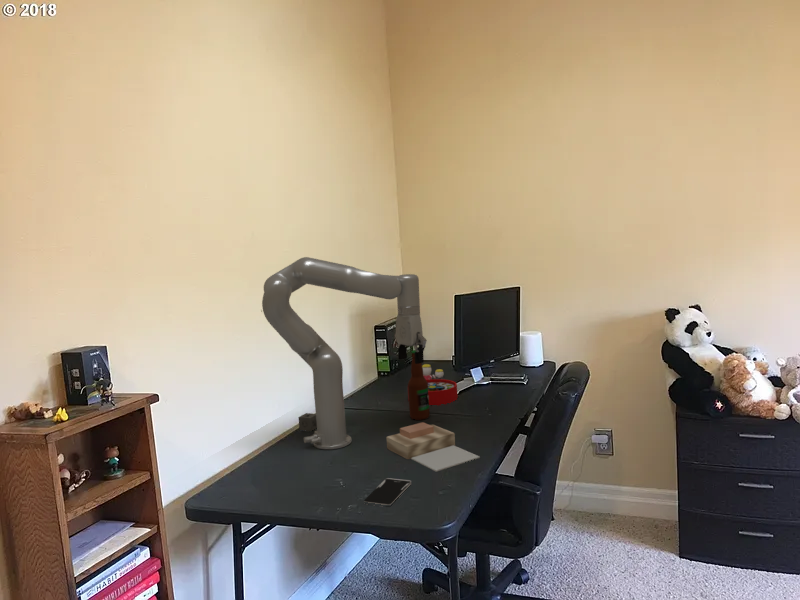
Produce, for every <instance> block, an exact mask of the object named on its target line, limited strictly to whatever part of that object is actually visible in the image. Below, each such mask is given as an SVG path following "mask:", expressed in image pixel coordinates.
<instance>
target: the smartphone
mask: <svg viewBox="0 0 800 600" xmlns="http://www.w3.org/2000/svg"><path fill="white" fill-rule="evenodd" d="M410 485H411V486H412V480H410V479H401V478H400V479H399V478H391V477H390V478H389V477H387V478H385V479H384V480H383V481H382V482H381V483H379V485H378V486H377V487H376V488H375V489H374V490H372V492H370V494H369V495H367V497H366V498H364V500H363V503H364V502H368V503H375V504H381V505H391V504H392V503H393V502H394V501H395V500H396V499H397V498H398V497H399V496H400V495H401V494H402V493H403V492H404V491H405V490H406V489H407V488H408V487H409V486H410ZM411 486H410V487H411ZM410 487H409V488H410ZM409 488H408V489H409ZM408 489H407V490H408ZM407 490H406V491H407ZM406 491H405V492H406ZM405 492H404V493H405ZM404 493H403V494H404ZM403 494H402V495H403ZM402 495H401V496H402ZM401 496H400V497H401ZM400 497H399V498H400Z"/></svg>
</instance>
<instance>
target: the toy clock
mask: <svg viewBox="0 0 800 600" xmlns="http://www.w3.org/2000/svg"><path fill="white" fill-rule="evenodd" d="M426 381H427V383H428V395H429V405H437V406H442V405H441V404H444V405H448V404H447V403H449V404H451V402H452V403H453V401H454V402H456V401H457V400H458V399H457V398H459V396H458V383H457V382H455V381H453V380H450V379H435V378H432V379H429V380H426ZM407 396H408V397H407V399H408V402H409V395H408V394H407ZM455 400H456V401H455Z"/></svg>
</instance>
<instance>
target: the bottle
mask: <svg viewBox="0 0 800 600" xmlns="http://www.w3.org/2000/svg"><path fill="white" fill-rule="evenodd" d="M415 352H416V351H415V349H414V350H412V351H411V366H410V368H411V369H410V373H411V375H410V378H409V380H408V383H407V396H408V395H409V401H408V407H409V408H408V409H409V417H410V419H411V420H413V419H415V420H414V421H424V420H428V419H429V417H430V416H431V415H430V406H429V395H428V383H427V381H426V379H425V378H424V376H423V368H422V365H423V364H422V363H419V364H415ZM423 419H424V420H423Z"/></svg>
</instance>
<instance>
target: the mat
mask: <svg viewBox="0 0 800 600" xmlns="http://www.w3.org/2000/svg"><path fill="white" fill-rule="evenodd" d="M480 458H481V457H480V455H477V454H474V453H473V452H470V451H467V450H466V449H463V448H461V447H458V446H456V445H455V446H454V445H453V446H450V447H446V448H443V449H439V450H436V451H433V452H429V453H426V454H422V455H419V456H416V457H412V458H411V460H412V461H414V462H416V463H418V464H420V465H422V466H424V467H425V468H427V469H430V470H431V471H434V472H436V473H437V472H440V471H443V470H446V469H449V468H452V467H455V466H456V467H457V466H459V465H463V464H465V462H466V463H468V461H469V462H472V461H475V460H477V459H480ZM474 459H475V460H474ZM471 460H472V461H471Z"/></svg>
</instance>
